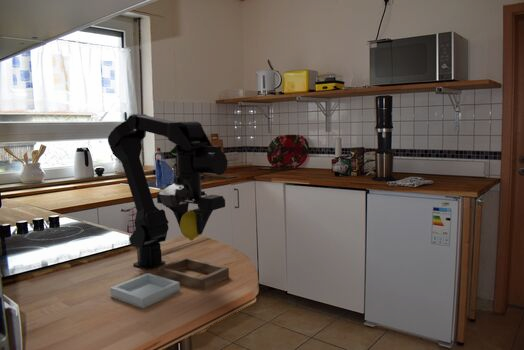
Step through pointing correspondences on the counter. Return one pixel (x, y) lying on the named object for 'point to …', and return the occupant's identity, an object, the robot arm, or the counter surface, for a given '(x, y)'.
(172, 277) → the holder frame
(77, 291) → the counter surface
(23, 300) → the counter surface
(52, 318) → the counter surface
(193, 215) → the lemon
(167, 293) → the dish
